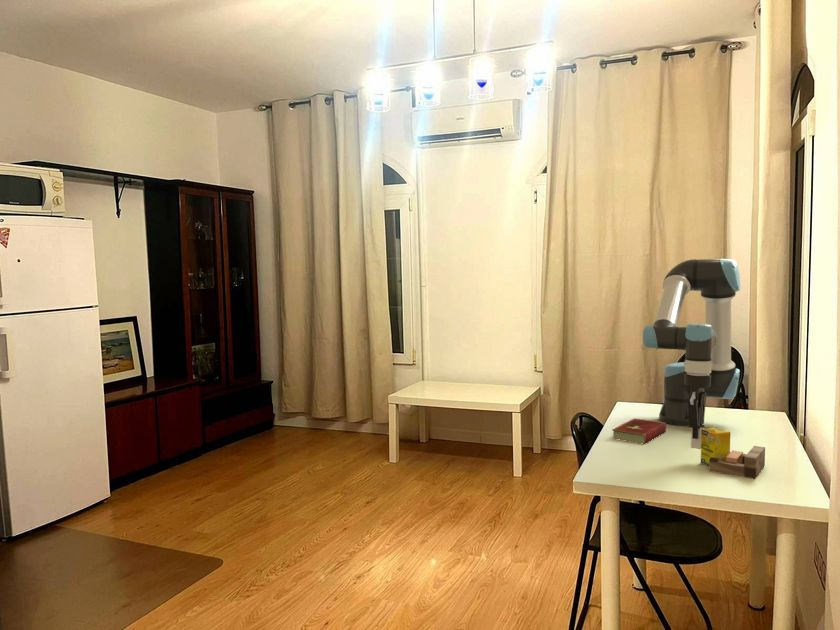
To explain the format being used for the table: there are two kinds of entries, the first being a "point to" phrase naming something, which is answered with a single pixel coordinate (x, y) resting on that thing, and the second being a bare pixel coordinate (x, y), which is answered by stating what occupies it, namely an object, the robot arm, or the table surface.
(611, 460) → the table surface
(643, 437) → the hardcover book
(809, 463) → the table surface
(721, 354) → the robot arm
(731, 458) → the block
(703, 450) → the supplement box
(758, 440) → the table surface
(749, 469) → the dock
